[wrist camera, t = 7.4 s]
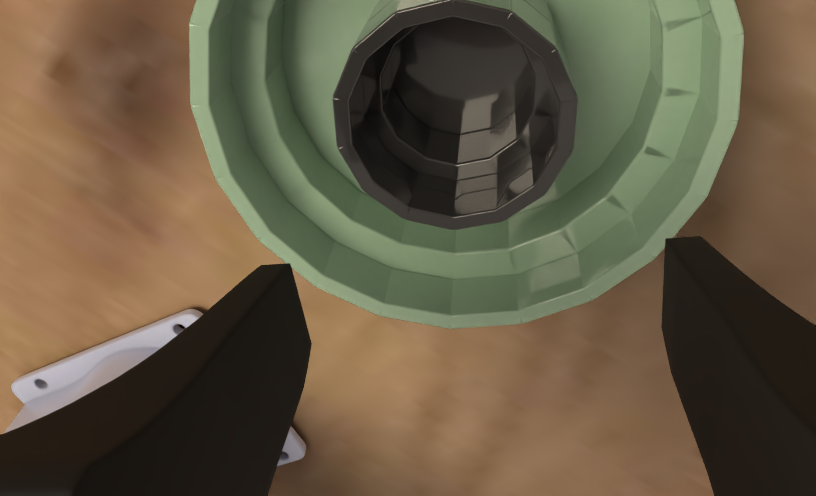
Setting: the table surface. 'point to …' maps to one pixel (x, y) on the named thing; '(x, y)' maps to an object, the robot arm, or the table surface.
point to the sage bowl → (488, 244)
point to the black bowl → (456, 108)
